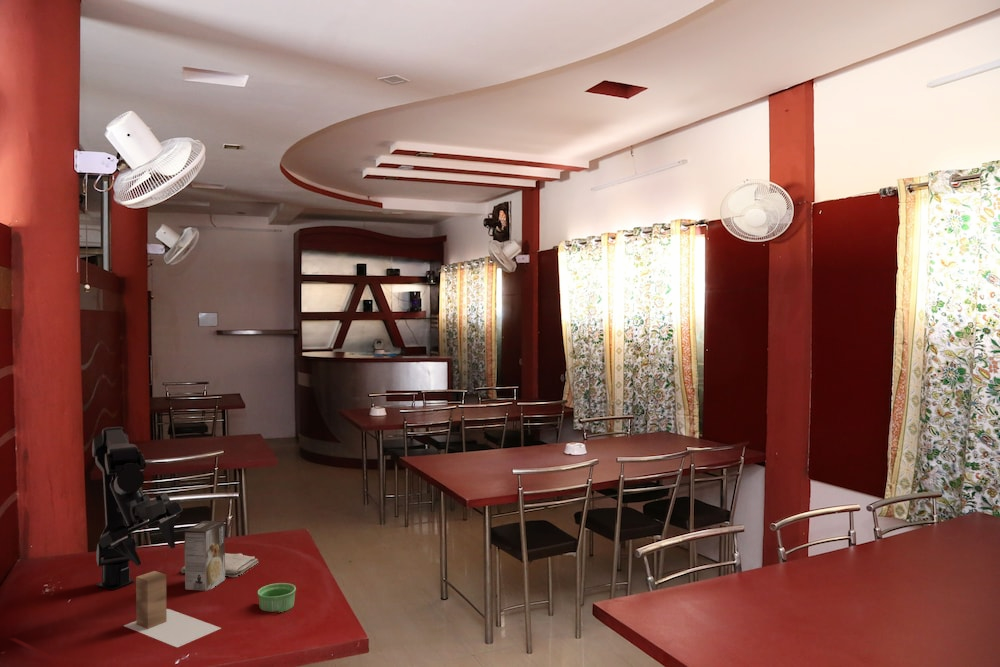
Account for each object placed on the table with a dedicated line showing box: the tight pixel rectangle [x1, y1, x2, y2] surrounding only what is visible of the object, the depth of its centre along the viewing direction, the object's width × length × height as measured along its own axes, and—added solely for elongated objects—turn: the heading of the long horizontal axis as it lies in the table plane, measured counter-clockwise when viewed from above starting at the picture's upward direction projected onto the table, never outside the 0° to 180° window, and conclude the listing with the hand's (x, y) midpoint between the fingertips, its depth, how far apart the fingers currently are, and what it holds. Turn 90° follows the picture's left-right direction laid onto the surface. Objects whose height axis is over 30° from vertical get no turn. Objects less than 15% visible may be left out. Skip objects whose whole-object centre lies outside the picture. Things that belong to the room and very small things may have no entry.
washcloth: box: [180, 552, 259, 578], centre depth 199 cm, size 12×18×3 cm, turn 81°
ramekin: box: [257, 582, 297, 614], centre depth 173 cm, size 9×9×4 cm
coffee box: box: [183, 520, 226, 592], centre depth 186 cm, size 9×6×16 cm
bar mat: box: [123, 608, 222, 648], centre depth 160 cm, size 20×11×1 cm, turn 58°
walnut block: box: [135, 570, 167, 629], centre depth 162 cm, size 4×4×11 cm
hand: (156, 556), depth 169 cm, fingers open, 9 cm apart
